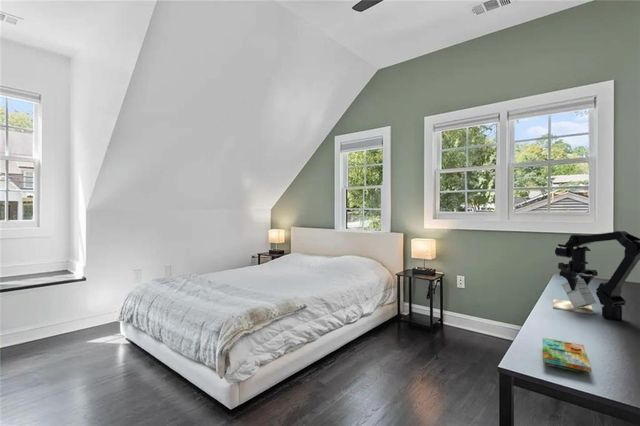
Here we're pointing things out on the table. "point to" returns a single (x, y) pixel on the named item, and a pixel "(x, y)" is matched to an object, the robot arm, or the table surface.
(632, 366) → the table surface
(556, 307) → the gold metal board
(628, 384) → the table surface
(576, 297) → the supplement box
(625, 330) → the table surface
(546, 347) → the puzzle game
